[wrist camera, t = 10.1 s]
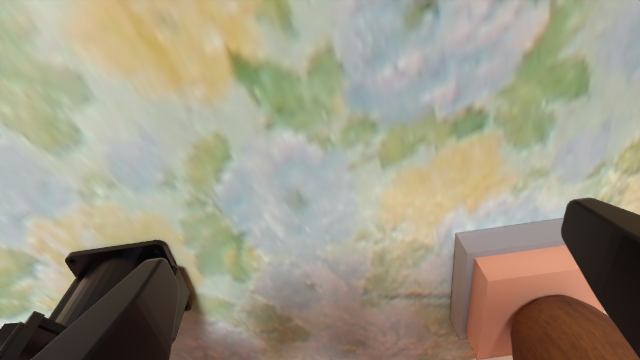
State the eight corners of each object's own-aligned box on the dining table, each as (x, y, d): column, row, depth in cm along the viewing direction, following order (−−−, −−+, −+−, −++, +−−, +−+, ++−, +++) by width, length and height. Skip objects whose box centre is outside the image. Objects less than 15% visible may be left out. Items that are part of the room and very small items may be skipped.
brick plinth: (449, 318, 30) (469, 364, 27) (456, 233, 26) (480, 276, 22) (561, 302, 30) (595, 347, 27) (588, 214, 25) (633, 255, 22)
